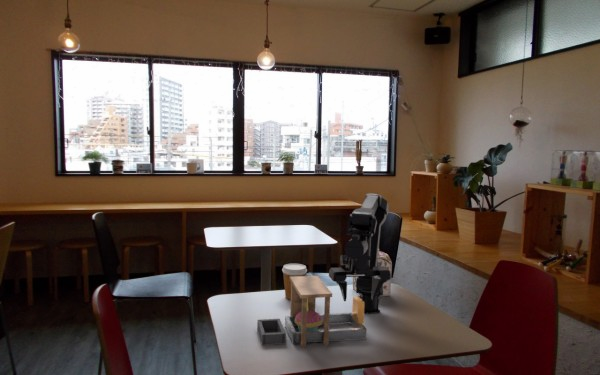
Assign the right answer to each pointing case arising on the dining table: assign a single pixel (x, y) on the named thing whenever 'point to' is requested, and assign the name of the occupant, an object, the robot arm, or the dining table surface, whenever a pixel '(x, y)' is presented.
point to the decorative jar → (386, 262)
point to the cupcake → (309, 320)
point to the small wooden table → (309, 302)
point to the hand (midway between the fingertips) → (358, 300)
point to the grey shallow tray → (334, 335)
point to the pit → (271, 331)
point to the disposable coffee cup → (292, 271)
